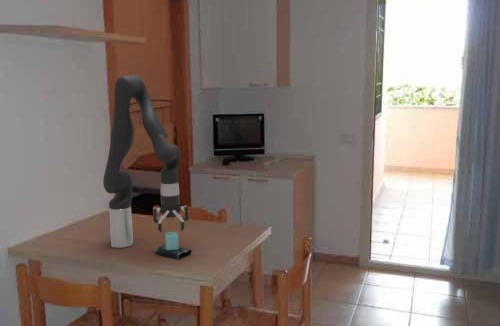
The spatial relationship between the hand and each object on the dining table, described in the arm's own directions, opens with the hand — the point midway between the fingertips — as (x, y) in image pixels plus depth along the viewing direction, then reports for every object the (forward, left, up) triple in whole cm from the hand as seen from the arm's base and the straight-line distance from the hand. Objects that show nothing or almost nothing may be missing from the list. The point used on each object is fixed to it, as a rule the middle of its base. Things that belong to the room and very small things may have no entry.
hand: (171, 231), depth 207 cm
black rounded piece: (0, 0, -10) cm, 10 cm away
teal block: (0, -1, -7) cm, 7 cm away
